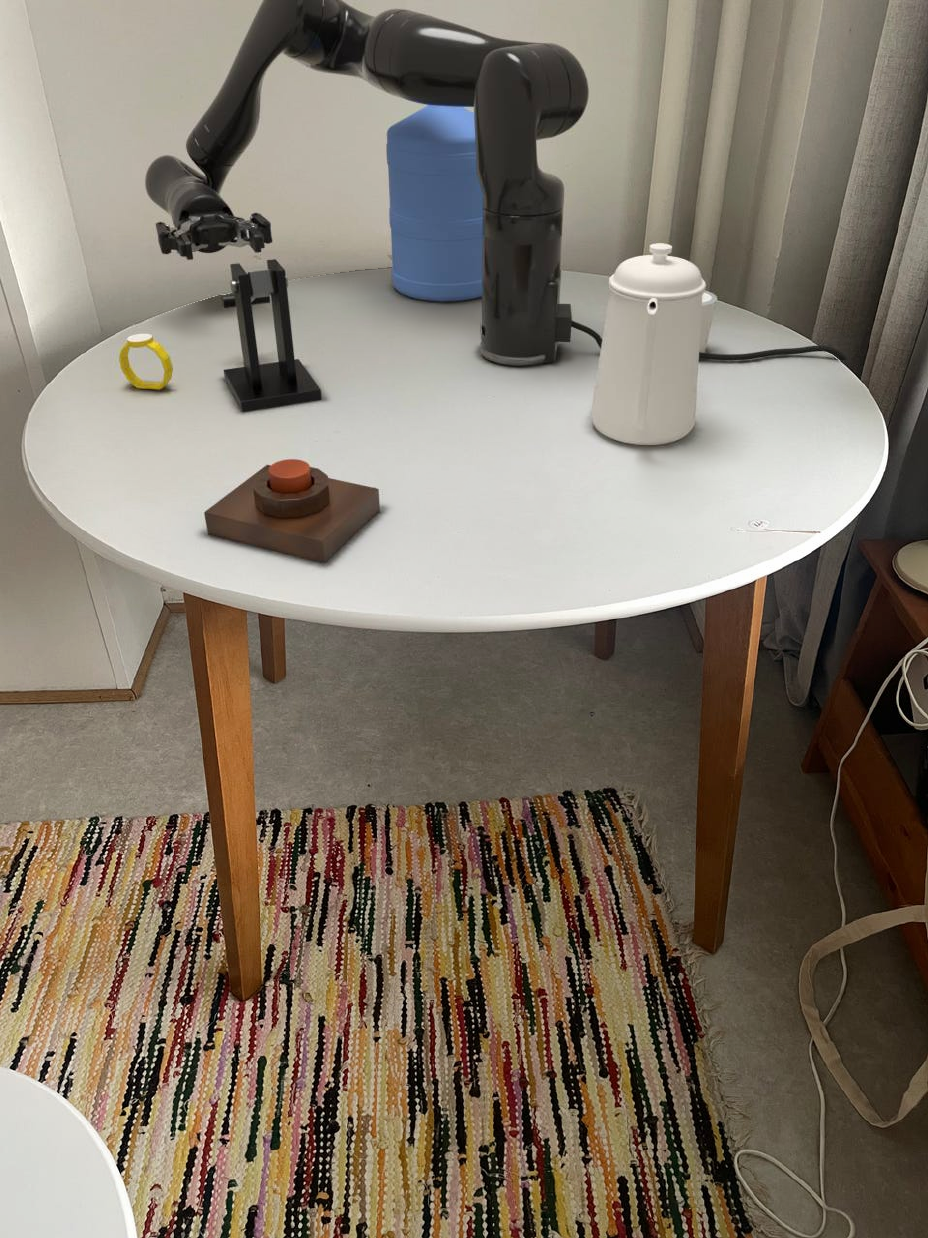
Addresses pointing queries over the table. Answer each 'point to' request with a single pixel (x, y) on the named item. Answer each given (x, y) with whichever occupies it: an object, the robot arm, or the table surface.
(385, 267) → the table surface
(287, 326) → the bracket
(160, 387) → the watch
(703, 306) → the white cup
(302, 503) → the button block
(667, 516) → the table surface
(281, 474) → the button
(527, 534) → the table surface
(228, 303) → the lever
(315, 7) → the robot arm
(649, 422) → the coffeepot
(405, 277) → the water jug
